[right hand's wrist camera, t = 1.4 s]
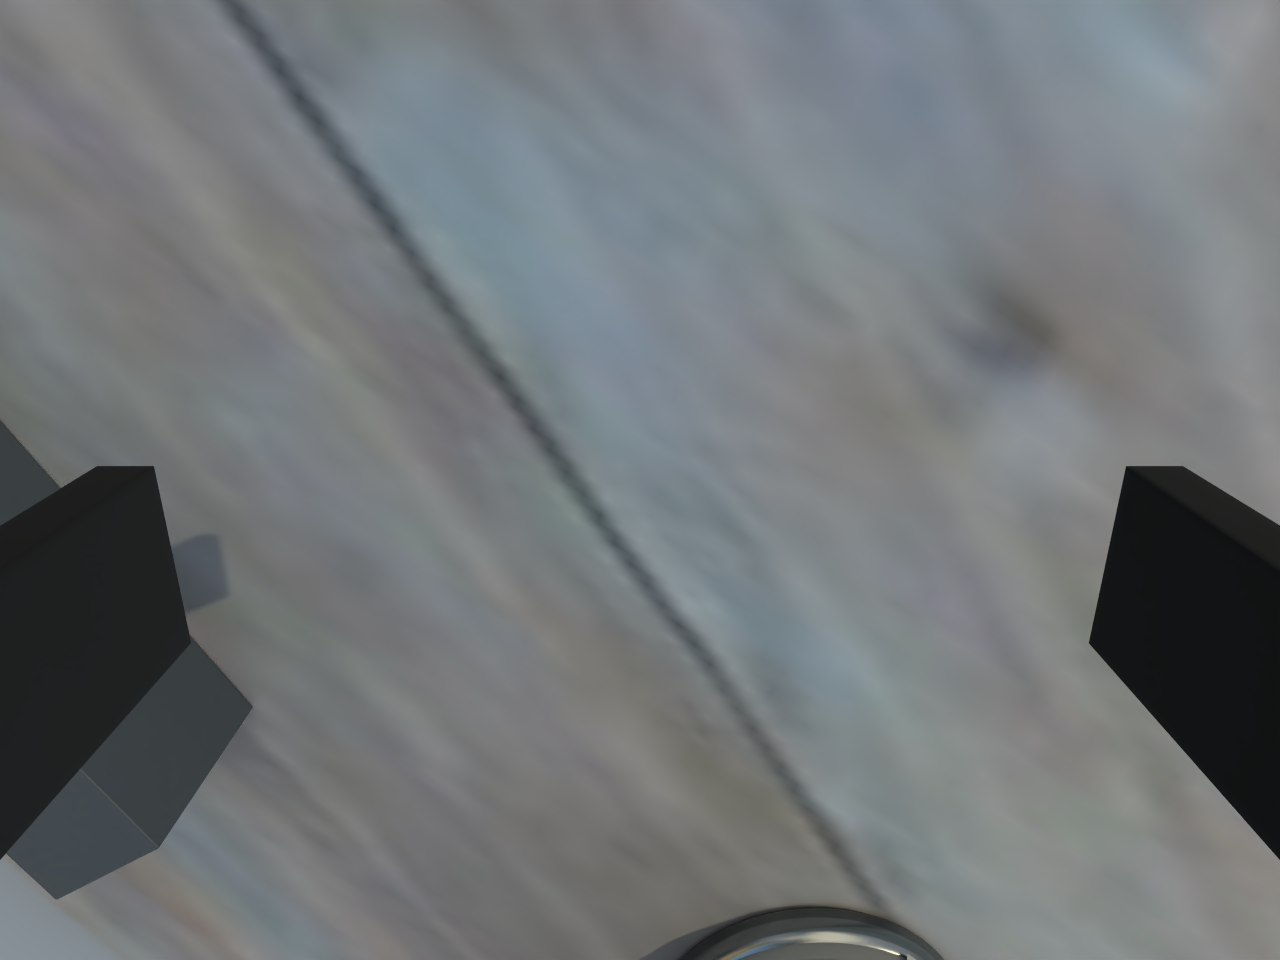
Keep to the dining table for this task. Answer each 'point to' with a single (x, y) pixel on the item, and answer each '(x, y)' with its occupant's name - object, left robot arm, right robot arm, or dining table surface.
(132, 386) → the dining table surface
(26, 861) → the post
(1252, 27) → the dining table surface
